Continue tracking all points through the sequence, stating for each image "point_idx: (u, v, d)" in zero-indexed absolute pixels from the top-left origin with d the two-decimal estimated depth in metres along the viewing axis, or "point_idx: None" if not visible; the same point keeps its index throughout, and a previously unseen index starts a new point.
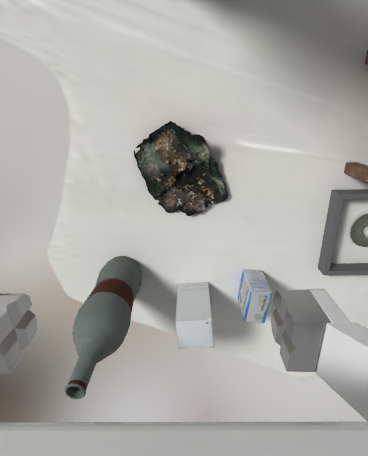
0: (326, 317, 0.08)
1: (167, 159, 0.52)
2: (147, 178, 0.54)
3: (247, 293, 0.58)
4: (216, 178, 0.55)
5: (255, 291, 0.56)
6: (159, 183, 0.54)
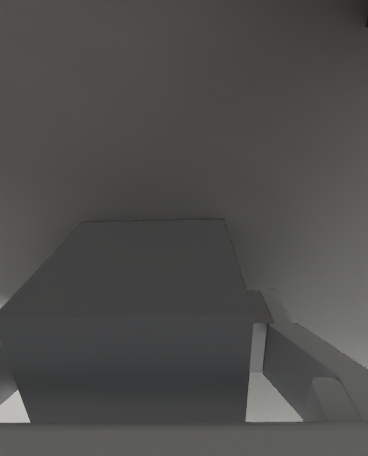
0: (270, 318, 0.08)
1: None
2: None
3: None
4: None
5: None
6: None
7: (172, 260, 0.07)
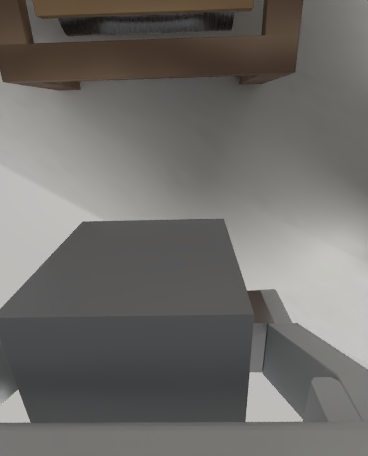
0: (270, 318, 0.08)
1: None
2: None
3: None
4: None
5: None
6: None
7: (172, 259, 0.07)
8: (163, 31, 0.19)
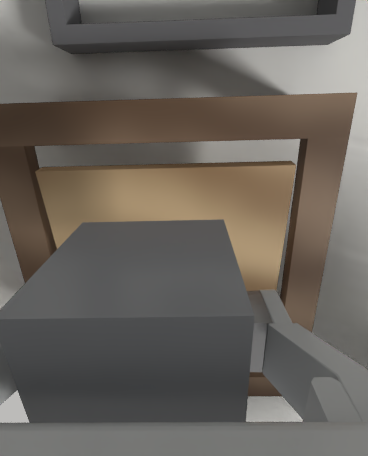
0: (270, 318, 0.08)
1: None
2: None
3: None
4: None
5: None
6: None
7: (171, 260, 0.07)
8: None
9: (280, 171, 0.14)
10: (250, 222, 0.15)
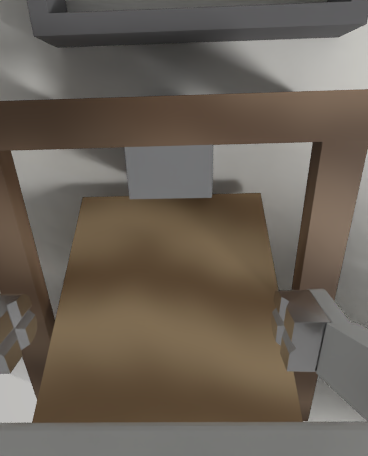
0: (326, 317, 0.08)
1: None
2: None
3: None
4: None
5: None
6: None
7: None
8: None
9: (250, 196, 0.20)
10: (237, 230, 0.19)
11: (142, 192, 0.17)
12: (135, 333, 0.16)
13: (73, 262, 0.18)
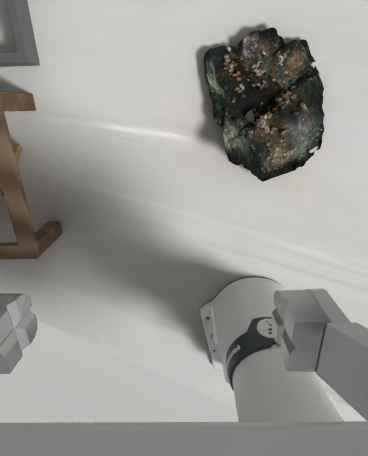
0: (326, 317, 0.08)
1: (282, 135, 0.37)
2: (318, 109, 0.36)
3: None
4: (216, 91, 0.37)
5: None
6: (304, 99, 0.36)
7: None
8: None
9: (13, 145, 0.39)
10: None
11: None
12: None
13: None
